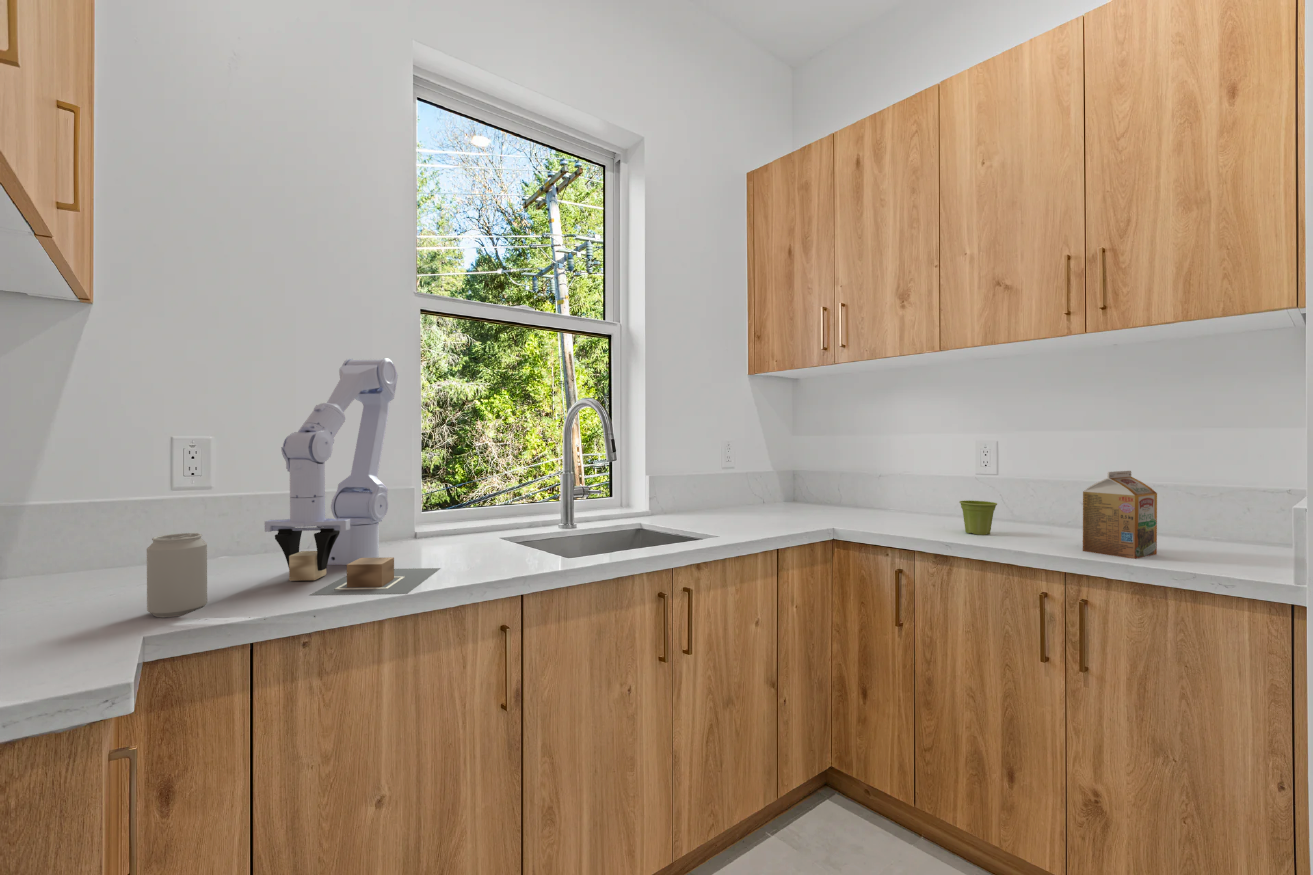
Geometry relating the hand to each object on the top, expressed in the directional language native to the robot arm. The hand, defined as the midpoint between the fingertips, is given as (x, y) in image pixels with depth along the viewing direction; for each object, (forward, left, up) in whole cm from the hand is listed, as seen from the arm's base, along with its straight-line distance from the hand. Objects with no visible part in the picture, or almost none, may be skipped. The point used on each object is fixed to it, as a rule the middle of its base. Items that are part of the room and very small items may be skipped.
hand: (308, 569), depth 117 cm
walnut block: (+13, -4, -2) cm, 14 cm away
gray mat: (+14, -2, -3) cm, 14 cm away
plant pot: (+157, +49, -3) cm, 164 cm away
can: (-11, -18, -3) cm, 21 cm away
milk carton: (+174, +20, -3) cm, 175 cm away
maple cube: (0, 0, -1) cm, 1 cm away
